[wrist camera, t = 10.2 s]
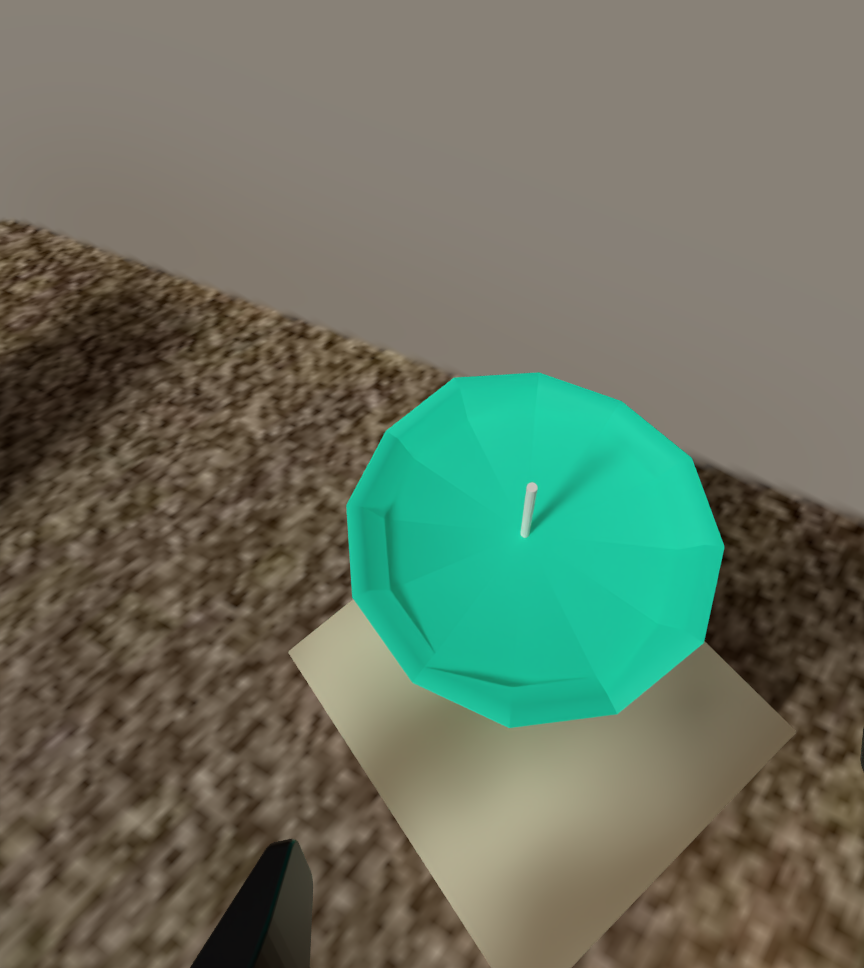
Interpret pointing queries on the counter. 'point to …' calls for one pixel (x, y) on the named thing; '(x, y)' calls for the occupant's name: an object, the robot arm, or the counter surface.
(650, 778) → the beige square slab
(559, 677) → the candle
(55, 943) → the counter surface
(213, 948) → the robot arm
